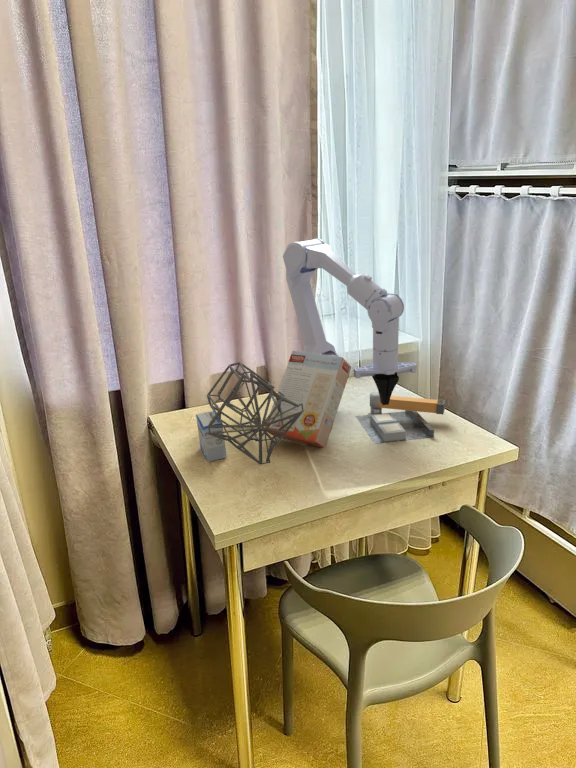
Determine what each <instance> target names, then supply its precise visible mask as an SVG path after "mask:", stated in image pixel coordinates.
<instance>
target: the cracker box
mask: <svg viewBox="0 0 576 768" xmlns="http://www.w3.org/2000/svg"><path fill="white" fill-rule="evenodd" d="M338 356H339V355H338ZM338 356H330V355H322V354H314V353H307V352H303V351H300V350H299V351H297V350H292V352H291V354H290V356H289V360H288V362H287V365H286V368H285V371H284V373H283V375H282V378H281V381H280V385H279V387H278V390H277V391H276V393H278V394H279V392H281V393H282V394H283V395H284V398H286V399H288V400H290V401H292V402H294V403H296V404H298V405H299V404H301V403H303V410H304V412H302V414H301V415H300V416H299V418H298V419H297V420H296V421H295V423H294V424H293V425H292V426H291V428H290V429H289V430H288V431H287V434H280V433H278V435H277V436H276V437H275V438H276V439H279V438H280V437H281V436H282V435H284V438H283V439H282V440H286V441H290V442H294V443H297V444H302V445H308V446H312V447H317V448H321V449H323V448H325V447H326V446H327V443H328V440H329V437H330V434H331V431H332V428H333V425H334V422H335V419H336V415H337V413H338V410H339V406H340V403H341V401H342V397H343V396H344V395H343V394H344V393H345V388H346V384H347V381H348V379H349V376H350V373H351V370H352V366H351V365H350V363H348V362H347V360H346V359H345V358H344V356H339V357H338ZM279 395H281V394H279ZM281 396H282V395H281ZM282 397H283V396H282ZM274 398H275V401H276V402H277V399H276V397H274ZM277 403H278V402H277ZM275 406H276V405H275V403H274V402H273V404H272V406H271V410H270V412H269V414H270V413H271V411H272V410H273V409H274V407H275ZM293 407H295V406H294V405H291V404H289V403H287V402H285V401H282V402H281V409H282V413H283V412H285V411H287V410H289V409H291V408H293ZM301 411H302V406H301V405H300V406H299V407H296V408H294V409H292V410H290V411H288V412H286V413H284V414H282V416H283V417H286V416H289V415H292V414H295V413H298V412H301ZM277 412H278V409H276V410H275V412H274V413H273V414H272V416H271V417H270V418H272V417H274V416H275V415H276V414H277ZM279 414H280V412H279ZM292 418H293V417H292ZM292 418H289V419H286V420H283V424H285V423H287V422H288V421H289V420H291V419H292ZM278 419H281V418H280V416H278V417H276V418H275V419H274V421H275V420H278ZM271 421H272V420H270V421H268V422H271ZM268 422H267V423H268ZM290 424H291V423H290ZM290 424H288V425H287V426H286V427H284V429H285V430H286V428H287V427H288V426H289V425H290ZM280 427H282V425H281V421H280V422H277V423H274V424H271V425H270V426H269V429H273V430H279V428H280ZM264 428H267V426H265V427H264ZM281 431H283V429H282V430H281ZM266 432H267V433H268V434H269V435H270V436H272V437H273V436H274V434H275V432H270V431H266ZM283 432H284V431H283Z"/></svg>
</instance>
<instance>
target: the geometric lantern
mask: <svg viewBox="0 0 576 768" xmlns="http://www.w3.org/2000/svg"><path fill="white" fill-rule="evenodd" d="M233 366H236V369H235V368H234V367H233ZM239 367H241V370H242V371H243V372H240V371H239V370H238V369H239ZM229 370H230V372H229V373H228V376H227V377H226V379H225V380H224V382H223V384H222V386H221V387H220V389H219V390H218V392H217V394H211V393H212V392H213V391H215V390H214V389H215V388H216V387H217V385H218V384H219V383H220V381H221V380H222V379H223V377H224V375H226V373H227V372H228V371H229ZM246 370H247V371H246ZM233 374H235V376H236V377H237V378H238V380H237V382H236V383H235V385H234V387H233V388H232V389H231V390H230V393H229V394H228V396H227V397H226V399H223V398H222V397H221V394H222V393H223V391H224V389H225V387H226V386H227V384H228V382H229V381H230V379H231V377H233V376H232V375H233ZM248 383H249V384H250V385H251V389H252V395H251V393H250V389H249V386H248ZM244 384H245V386H246V387H245V388H246V390H247V392H248V397H249V400H248V402H247V404H246V403H245V402H244V400H243V399H242V397H241V396H240V395H239V394H238V391H240V389H241V388H243V386H244ZM255 385H256V387H255ZM275 388H276V387H275V386H274V385H272V384H270V382H269V381H268V380H266V379H264V377H262V376H261V375H259V374H258V373H257V372H255V371H254V370H252V369H251V368H249V366H247V365H246V364H244V363H242V362H241V361H238V362H233V363H230V364H228V365H227V367H226V368H225V370H224V371H223V372H222V373H221V375H220V377H219V378H218V379H217V380H216V382H215V383H214V385H212V387H211V388H210V390H209V391H208V393H207V394H206V398H207V402H208V405H209V407H210V408H211V410H212V411H214V412H215V416H214V417H213V419H212V420H211V422H210V423H209V425H208V430H209V434H210V435H211V436H214V437H217V438H220V439H223V440H225V442H228V443H230V444H231V445H232V446H233V447H234V448H235V449H237V450H238V451H239V452H241V453H242V454H244V455H246V456H247V457H249V458H250V459H252V461H255V462H256V463H257V464H258V465H265V464H266V465H267V464H270V463H271V460H270V459H271V457H272V454H273V452H274V450H275V449H274V448H275V447H277V445H279V443H280V442H281V441H282V440H284V439H283V438H284V435H282V436H281V437H280V438H276V436H277V435H278V433H280V434H287V431H288V430H289V429H290V428H291V426H292V425H293V424H294V423H295V421H296V420H297V419H298V418H299V416H300V415H301V414H302V412H304V410H303V403H301V404H299V405H298V404H296V403H294V402H292V401H290V400H288V399H286V398H284V395H283V394H282V393H281V392H279V394H281V395H282V396H283V397H282V396H281V395H279V394H278V393H277V391H275V390H274V389H275ZM259 390H261V391H264V392H267V393H269V394H268V395H267V396H266V397H265V399H264V400H263V402H262V403H261V405H260V406H259V402H258V396H257V393H258V391H259ZM213 397H218V398H217V399H216V400H214V399H213ZM235 398H237V399H238V401H239V402H240V404H241V405H242V406H243V408H240V407H238V406H236V405H234V404H232V400H233V399H235ZM275 398H276V399H277V402H278V403H277V402H276V401H275ZM271 399H272V401H273V404H274V403H275V405H276V406H275V407H274V409H273V410H272V411H271V410H270V412H271V413H270V412H269V414H268V410H269V407H270V404H271ZM219 401H220V402H223V403H222V405H221V406H220V407H219V405H218V404H217V403H218V402H219ZM253 401H254V403H253ZM282 401H285V402H287V403H289V404H291V405H294V406H295V407H293V408H291V409H289V410H287V411H285V412H283V413H282V409H281V402H282ZM265 404H266V405H265ZM264 405H265V406H266V407H265V409H264V413H263V417H262V418H261V412H260V411H261V409H262V408H263V407H264ZM300 405H301V406H302V411H301V412H298V413H295V414H292V415H289V416H286V417H283V416H282V414H284V413H286V412H288V411H290V410H292V409H294V408H296V407H299V406H300ZM250 406H251V408H252V410H253V412H252V411H251V410H250V409H249V407H250ZM225 407H227V408H229V409H230V410H232V411H233V412H235V414H237V415H239V416H240V422H238V421H237V420H236V419H234V418H232V417H231V416H229V415H228V414H227V413H225V412H224V411H223V409H224V408H225ZM276 409H278V412H277V414H276V415H275V416H274V417H272V418H270V417H271V416H272V414H273V413H274V412H275V410H276ZM244 412H245V414H244ZM279 412H280V414H279ZM253 413H254V414H253ZM222 415H223V416H224V417H225V418H227V419H229V420H230V421H232V422H233V423H235V424H229V423H227V422H226V421H224V420H223V419H222ZM267 415H268V416H267ZM278 416H280V418H281V419H278V420H275V421H274V419H275V418H276V417H278ZM292 417H293V418H292ZM216 418H218V419H219V420H220V422H221V424H222V425H212V424H213V423H214V421H215V420H216ZM243 418H244V419H245V420H247V421H246V422H243V421H242V420H243ZM289 418H292V419H291V420H289V421H288V422H287V423H285V424H283V420H286V419H289ZM270 420H272V421H271V422H268V421H270ZM280 421H281V425H282V427H280V428H279V430H273V429H269V426H270V425H271V424H274V423H277V422H280ZM242 422H243V423H242ZM267 422H268V423H267ZM290 423H291V424H290ZM288 424H290V425H289V426H288V427H287V428H286V430H285V429H284V427H286V426H287V425H288ZM265 426H267V428H265ZM210 428H223V432H216V433H210ZM226 428H230V429H232V430H227V429H226ZM238 428H240V429H238ZM244 428H246V429H244ZM282 429H283V431H284V432H283V431H281V430H282ZM266 431H270V432H275V434H274V436H273V435H271V434H270V433H268V432H266ZM221 433H224V435H223V434H221ZM230 433H239V434H237V435H234V436H231V435H230ZM250 434H251V435H250ZM257 434H258V435H257ZM249 435H250V436H249ZM263 436H264V439H263ZM241 437H245V438H246V440H244V441H242V442H239V441H238V440H237V439H238V438H241ZM250 441H255V442H258V458H257V457H256V456H254V454H253V453H251V452H250V451H249V450H248V448H246V447H245V445H246V444H248V442H250ZM268 441H270V442H269V444H268ZM263 442H265V445H266V452H267V454H266V458H265V462H263V461H264V460H263Z"/></svg>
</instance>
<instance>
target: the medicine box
mask: <svg viewBox="0 0 576 768" xmlns="http://www.w3.org/2000/svg"><path fill="white" fill-rule="evenodd" d="M214 416H215V412H214V411H213V410H212V411H211V410H210V411H206V412H202V413H197V414H196V415H195V418H196V425H197V432H198V438H199V440H198V441H199V446H200V449H201V451H202V453H203V455H204V457H205V459H206V461H207V462H208V463H210V462H214V461H219V460H222V459H226V458H227V448H226V440H223V439H220V438H217V437H214V436H211V435H210V434H209V430H208V425H209V423H210V422H211V420H212V419H213V417H214ZM212 425H222V424H221V422H220V420H219V419H218V418H216V420H215V421H214V423H213V424H212ZM216 432H224V428H210V433H216ZM221 434H223V435H225V433H221Z"/></svg>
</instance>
